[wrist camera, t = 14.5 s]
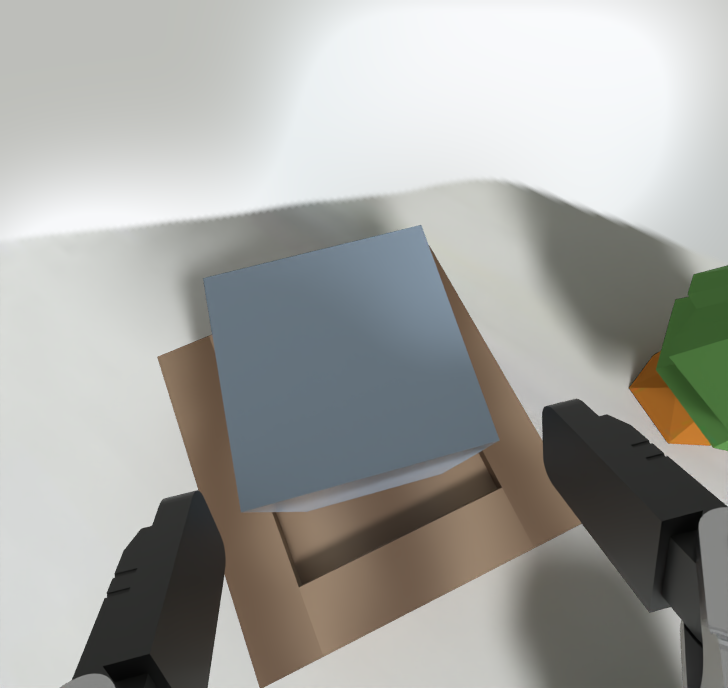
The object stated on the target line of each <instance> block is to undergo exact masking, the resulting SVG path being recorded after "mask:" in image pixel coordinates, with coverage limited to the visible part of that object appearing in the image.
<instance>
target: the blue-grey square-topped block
mask: <svg viewBox="0 0 728 688" xmlns="http://www.w3.org/2000/svg"><path fill="white" fill-rule="evenodd" d="M203 281H204V287H205V293H206V299H207V305H208V312H209V318H210V324H211V330H212V336H213V343H214V349H215V355H216V361H217V367H218V373H219V380H220V386H221V392H222V398H223V404H224V411H225V417H226V423H227V429H228V435H229V442H230V448H231V454H232V460H233V466H234V472H235V479H236V485H237V491H238V497H239V503H240V510H241V512H308V511H312V510H315V509H319V508H322V507H326V506H330V505H333V504H337V503H340V502H344V501H347V500H351V499H355V498H358V497H362V496H365V495H369V494H372V493H376V492H379V491H383V490H387V489H390V488H394V487H397V486H401V485H404V484H408V483H412V482H415V481H419V480H422V479H426V478H429V477H433V476H437V475H440V474H443V473H445V472H446V471H448V470H450V469H451V468H453V467H455V466H457V465H458V464H460V463H462V462H463V461H465V460H467V459H469V458H470V457H472V456H474V455H476V454H477V453H479V452H481V451H482V450H484V449H486V448H488V447H489V446H491V445H493V444H494V443H496V442H498V441H500V440H499V437H498V434H497V432H496V429H495V426H494V423H493V421H492V418H491V415H490V412H489V410H488V407H487V404H486V402H485V399H484V396H483V393H482V391H481V388H480V385H479V382H478V380H477V377H476V374H475V371H474V369H473V366H472V363H471V360H470V358H469V355H468V352H467V349H466V347H465V344H464V341H463V338H462V336H461V333H460V330H459V327H458V325H457V322H456V319H455V316H454V314H453V311H452V308H451V305H450V303H449V300H448V297H447V294H446V292H445V289H444V286H443V284H442V281H441V278H440V275H439V273H438V270H437V267H436V264H435V262H434V259H433V256H432V253H431V251H430V248H429V245H428V242H427V240H426V237H425V234H424V231H423V229H422V226H421V225H419V226H415V227H411V228H407V229H402V230H398V231H394V232H390V233H386V234H382V235H378V236H374V237H370V238H366V239H362V240H357V241H353V242H349V243H345V244H341V245H337V246H333V247H329V248H325V249H321V250H317V251H312V252H308V253H304V254H300V255H296V256H292V257H288V258H284V259H280V260H276V261H272V262H267V263H263V264H259V265H255V266H251V267H247V268H243V269H239V270H235V271H231V272H227V273H222V274H218V275H214V276H210V277H206V278H203Z"/></svg>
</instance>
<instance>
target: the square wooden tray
mask: <svg viewBox="0 0 728 688" xmlns="http://www.w3.org/2000/svg"><path fill="white" fill-rule="evenodd" d="M429 248H430V246H429ZM430 251H431V253H432V256H433V259H434V262H435V264H436V267H437V270H438V273H439V275H440V278H441V281H442V284H443V286H444V289H445V292H446V294H447V297H448V300H449V303H450V305H451V308H452V311H453V314H454V316H455V319H456V322H457V325H458V327H459V330H460V333H461V336H462V338H463V341H464V344H465V347H466V349H467V352H468V355H469V358H470V360H471V363H472V366H473V369H474V371H475V374H476V377H477V380H478V382H479V385H480V388H481V391H482V393H483V396H484V399H485V402H486V404H487V407H488V410H489V412H490V415H491V418H492V421H493V423H494V426H495V429H496V432H497V434H498V437H499V440H500V441H498V442H496V443H494V444H493V445H491V446H489V447H488V448H486V449H484V450H482V451H481V452H479V453H477V454H476V455H474V456H472V457H470V458H469V459H467V460H465V461H463V462H462V463H460V464H458V465H457V466H455V467H453V468H451V469H450V470H448V471H446V472H445V473H443V474H440V475H437V476H433V477H429V478H426V479H422V480H419V481H415V482H412V483H408V484H404V485H401V486H397V487H394V488H390V489H387V490H383V491H379V492H376V493H372V494H369V495H365V496H362V497H358V498H355V499H351V500H347V501H344V502H340V503H337V504H333V505H330V506H326V507H322V508H319V509H315V510H312V511H308V512H241V510H240V503H239V497H238V491H237V485H236V479H235V472H234V466H233V460H232V454H231V448H230V442H229V435H228V429H227V423H226V417H225V411H224V404H223V398H222V392H221V386H220V380H219V373H218V367H217V361H216V355H215V349H214V343H213V336H212V335H210V336H207V337H205V338H202V339H200V340H197V341H195V342H193V343H190V344H188V345H185V346H183V347H180V348H178V349H175V350H173V351H171V352H168V353H166V354H163V355H161V356H158V357H157V358H158V361H159V364H160V367H161V370H162V374H163V377H164V380H165V383H166V387H167V390H168V393H169V396H170V400H171V403H172V406H173V409H174V412H175V416H176V419H177V422H178V425H179V429H180V432H181V435H182V438H183V442H184V445H185V448H186V451H187V454H188V458H189V461H190V464H191V467H192V471H193V474H194V477H195V480H196V483H197V487H198V490H199V491H200V492H201V493H202V495H203V496H204V499H205V501H206V503H207V505H208V508H209V510H210V512H211V514H212V517H213V519H214V521H215V523H216V526H217V528H218V530H219V532H220V535H221V537H222V540H223V543H224V548H225V557H226V566H225V573H224V574H225V577H226V580H227V584H228V587H229V590H230V593H231V597H232V600H233V603H234V606H235V609H236V613H237V616H238V619H239V622H240V626H241V629H242V632H243V635H244V639H245V642H246V645H247V648H248V651H249V655H250V658H251V661H252V664H253V668H254V671H255V674H256V677H257V681H258V684H259V687H260V688H264V687H265V686H267V685H269V684H271V683H273V682H275V681H277V680H279V679H281V678H283V677H285V676H287V675H289V674H291V673H293V672H295V671H297V670H299V669H300V668H302V667H304V666H306V665H308V664H310V663H312V662H314V661H316V660H318V659H320V658H322V657H324V656H326V655H328V654H330V653H332V652H333V651H335V650H337V649H339V648H341V647H343V646H345V645H347V644H349V643H351V642H353V641H355V640H357V639H359V638H361V637H363V636H365V635H366V634H368V633H370V632H372V631H374V630H376V629H378V628H380V627H382V626H384V625H386V624H388V623H390V622H392V621H394V620H396V619H398V618H399V617H401V616H403V615H405V614H407V613H409V612H411V611H413V610H415V609H417V608H419V607H421V606H423V605H425V604H427V603H429V602H431V601H432V600H434V599H436V598H438V597H440V596H442V595H444V594H446V593H448V592H450V591H452V590H454V589H456V588H458V587H460V586H462V585H464V584H466V583H467V582H469V581H471V580H473V579H475V578H477V577H479V576H481V575H483V574H485V573H487V572H489V571H491V570H493V569H495V568H497V567H499V566H500V565H502V564H504V563H506V562H508V561H510V560H512V559H514V558H516V557H518V556H520V555H522V554H524V553H526V552H528V551H530V550H532V549H533V548H535V547H537V546H539V545H541V544H543V543H545V542H547V541H549V540H551V539H553V538H555V537H557V536H559V535H561V534H563V533H565V532H566V531H568V530H570V529H572V528H574V527H576V526H578V525H580V524H582V523H581V522H580V520H579V519H578V518H577V516H576V515H575V514H574V512H573V511H572V510H571V508H570V507H569V506H568V504H567V503H566V502H565V500H564V499H563V498H562V497H561V495H560V494H559V493H558V491H557V490H556V489H555V487H554V486H553V484H552V483H551V481H550V479H549V477H548V475H547V473H546V470H545V466H544V461H543V441H542V439H541V438H540V436H539V434H538V432H537V431H536V429H535V427H534V426H533V424H532V422H531V420H530V419H529V417H528V415H527V413H526V412H525V410H524V408H523V407H522V405H521V403H520V401H519V400H518V398H517V396H516V395H515V393H514V391H513V389H512V388H511V386H510V384H509V382H508V381H507V379H506V377H505V376H504V374H503V372H502V370H501V369H500V367H499V365H498V363H497V362H496V360H495V358H494V357H493V355H492V353H491V351H490V350H489V348H488V346H487V344H486V343H485V341H484V339H483V338H482V336H481V334H480V332H479V331H478V329H477V327H476V325H475V324H474V322H473V320H472V319H471V317H470V315H469V313H468V312H467V310H466V308H465V306H464V305H463V303H462V301H461V300H460V298H459V296H458V294H457V293H456V291H455V289H454V287H453V286H452V284H451V282H450V281H449V279H448V277H447V275H446V274H445V272H444V270H443V269H442V267H441V265H440V263H439V262H438V260H437V258H436V256H435V255H434V253H433V251H432V250H431V248H430Z"/></svg>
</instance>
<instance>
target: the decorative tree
mask: <svg viewBox="0 0 728 688" xmlns="http://www.w3.org/2000/svg"><path fill="white" fill-rule="evenodd" d="M688 296H689V297H685V298H680V299H676V300H675V303H674V306H673V310H672V313H671V317H670V320H669V324H668V328H667V331H666V335H665V338H664V342H663V345H662V349H661V351H660V352H658V353H656V354H655V355H653V356H652V357H651V359H650V360H649V362H648V363H647V364H646V366H645V367H644V368H643V370H642V371H641V372H640V374H639V375H638V376H637V378H636V379H635V381H634V382H633V383H632V385H631V386H630V387H629V389H630V390H631V392H632V393H633V394H634V396H635V397H636V399H637V400H638V401H639V403H640V404H641V406H642V407H643V409H644V410H645V411H646V413H647V414H648V416H649V417H650V418H651V420H652V421H653V423H654V424H655V426H656V427H657V428H658V430H659V431H660V433H661V434H662V435H663V437H664V438H665V440H666V441H667V443H670V444H689V445H709V446H710V445H712V447H713V448H717V449H721V450H726V451H728V265H727V266H724V267H720V268H716V269H712V270H709V271H705V272H701V273H697V274H694V275H693V278H692V281H691V285H690V288H689V291H688Z"/></svg>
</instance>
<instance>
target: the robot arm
mask: <svg viewBox="0 0 728 688" xmlns="http://www.w3.org/2000/svg"><path fill="white" fill-rule="evenodd" d="M542 429H543V461H544V466H545V470H546V473H547V475H548V477H549V479H550V481H551V483H552V484H553V486H554V487H555V489H556V490H557V491H558V493H559V494H560V495H561V497H562V498H563V499H564V500H565V502H566V503H567V504H568V506H569V507H570V508H571V510H572V511H573V512H574V514H575V515H576V516H577V518H578V519H579V520H580V522H581V523H582V524H583V526H584V527H585V528H586V530H587V531H588V532H589V533H590V535H591V536H592V537H593V539H594V540H595V541H596V543H597V544H598V545H599V547H600V548H601V549H602V551H603V552H604V553H605V555H606V556H607V557H608V559H609V560H610V561H611V563H612V564H613V565H614V566H615V568H616V569H617V570H618V572H619V573H620V574H621V576H622V577H623V578H624V580H625V581H626V582H627V584H628V585H629V586H630V588H631V589H632V590H633V592H634V593H635V594H636V596H637V597H638V598H639V599H640V601H641V602H642V603H643V605H644V606H645V607H646V609H647V610H648V611H649V613H650V612H654V611H657V610H661V609H665V608H668V607H672V609H673V610H674V611H675V612H676V613H677V615H678V616H679V617H680V618H681V624H680V641H681V662H682V682H683V688H728V506H726V505H725V504H724V503H723V502H721V501H720V500H719V499H718V498H717V497H715V496H714V495H713V494H712V493H711V492H710V491H708V490H707V489H706V488H705V487H704V486H702V485H701V484H700V483H699V482H698V481H696V480H695V479H694V478H693V477H692V476H691V475H689V474H688V473H687V472H686V471H685V470H683V469H682V468H681V467H680V466H679V465H678V464H676V463H675V462H674V461H673V460H672V459H670V458H669V457H668V456H667V457H665V455H664V453H663V452H662V451H661V450H660V449H659V448H657V447H656V446H655V445H654V444H653V443H652V444H650V443H649V440H648V439H647V438H645V437H644V436H643V435H642V434H641V433H640V432H638V431H637V430H636V429H635V428H634V427H632V426H631V425H629V424H627V423H625V422H623V421H620V420H618V419H616V418H614V417H612V416H609V415H603V416H598V415H597V414H596V413H595V412H594V411H592V410H591V409H590V408H589V407H588V406H587V405H586V404H585V403H584V402H582V401H581V400H579V399H573V400H569V401H565V402H561V403H557V404H553V405H549V406H545V407H544V409H543V412H542ZM225 566H226V557H225V548H224V543H223V540H222V537H221V535H220V532H219V530H218V528H217V526H216V523H215V521H214V519H213V517H212V514H211V512H210V510H209V508H208V505H207V503H206V501H205V499H204V496H203V495H202V493H201V492H200V491H193V492H189V493H185V494H181V495H177V496H173V497H169V498H165V499H163V500H162V501H161V503H160V505H159V508H158V511H157V513H156V516H155V519H154V522H153V525H152V526H150V527H146V528H142V529H141V530H140V531H139V532H138V533H137V535H136V536H135V537H134V539H133V540H132V541H131V542H130V544H129V545H128V546H127V547H126V549H125V550H124V551H123V554H122V556H121V559H120V561H119V564H118V566H117V569H116V571H115V578H113V579H112V581H111V584H110V586H109V589H108V591H107V598H105V599H104V601H103V604H102V606H101V609H100V611H99V614H98V616H97V619H96V621H95V624H94V626H93V629H92V631H91V634H90V636H89V639H88V641H87V644H86V646H85V649H84V651H83V654H82V656H81V659H80V661H79V664H78V666H77V669H76V671H75V674H74V676H73V678H72V680H71V681H70V682H68V683H66V684H65V685H63V686H62V687H60V688H207V687H208V681H209V674H210V667H211V661H212V654H213V647H214V640H215V634H216V627H217V620H218V614H219V607H220V600H221V593H222V587H223V580H224V573H225Z"/></svg>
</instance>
